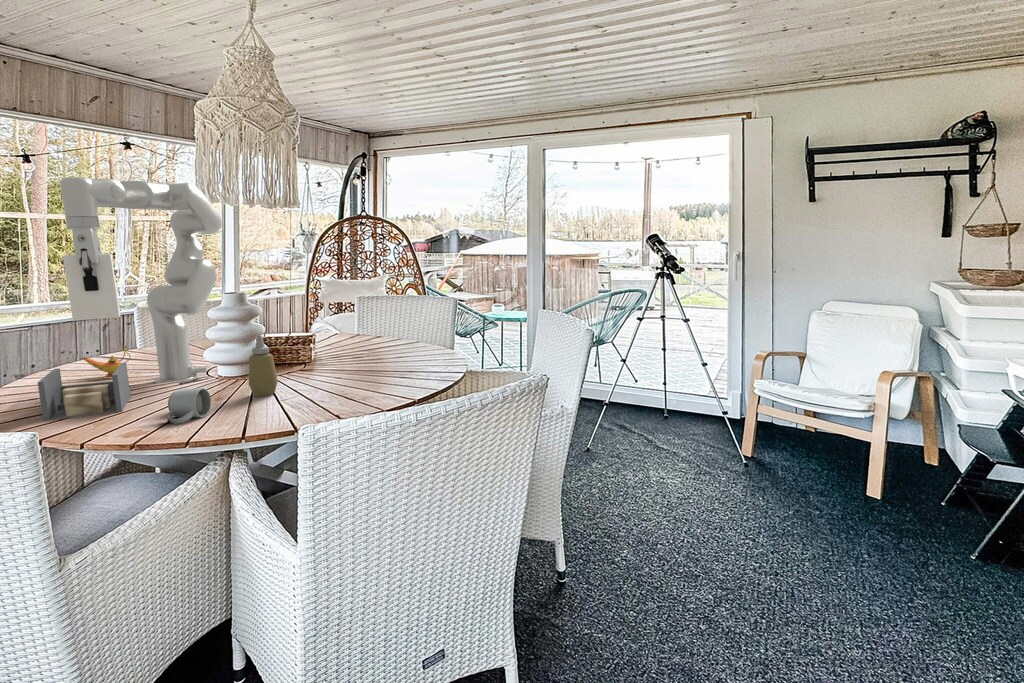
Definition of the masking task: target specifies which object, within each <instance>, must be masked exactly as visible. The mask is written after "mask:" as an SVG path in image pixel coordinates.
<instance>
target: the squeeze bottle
mask: <svg viewBox="0 0 1024 683" xmlns="http://www.w3.org/2000/svg"><path fill="white" fill-rule="evenodd" d="M269 352H270V348H269V346H267V345H265V342H264V338H263V337H262V335H261V334H257V335H256V341H255V346H254V347H251V353H252V354H251V355H249V357H248V386H249V388H250V390H251V392H252V395H253V396H255V397H262V398H263V397H269V396H273V395H275V393H276V388H277V386H278V380H279V379H278V376H277V370H276V366H275V361H274V356H273V354H272V353H269Z"/></svg>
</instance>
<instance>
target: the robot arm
mask: <svg viewBox="0 0 1024 683" xmlns="http://www.w3.org/2000/svg"><path fill="white" fill-rule="evenodd" d="M59 186H60V191H61V199H62V205H63V211H64V217H65V224H66V230H71V231H72V232H71V233H72V239H73V248H74V252H75V254H74V255H76V259H77V263H78V264H79V265H80V263H81V265H82V272H83V281H84V288H85V291H98V290H99V287H98V280H97V276H95V268H94V263H96V265H99V264H100V259H99V254H102V249H101V246H100V245H101V243H100V239H99V235H98V232H97V230H100V229H101V227H100V219H99V215H98V213H99V212H98V208H118V209H119V208H120V209H128V210H129V209H131V210H157V211H174V212H172V214H171V215H170V219H169V220H170V226H171V229H172V232H173V234H174V238H175V241H176V247H175V248H174V251H173V254H172V255H171V258H170V260H169V262H168V264H167V265H166V269H165V271H164V279H165V282H166V283H167V284H168V285H166V284H165V285H158V286H155V287H153V288H152V289H150V290H149V292H148V293H147V295H146V296H147V297H146V303H147V307H148V310H149V313H150V315H151V319H152V324H153V332H154V339H155V348H156V357H157V364H158V373H159V376H157V377H155V378H154V383H155V384H164V383H174V382H179V384H184V383H188V382H193V381H195V380H196V379H198V374H204V373H208V372H207V371H208V370H207V366H197V367H196V366H193V365H194V364H193V363H192V361H191V352H190V342H189V334H188V326H187V324H186V321H185V319H184V318H183V316H184V315H185V316H193V315H197V314H199V313H200V312H202V311H203V309H205V308H204V307H206V304H207V302H208V300H209V297H210V295H211V292H212V291H213V287H214V284H215V282H216V277H217V274H216V273H217V272H216V268H215V265H214V264H213V263H212V262H211V261H210V260H208V259H206V258H203V257H204V248H203V245H202V243H201V242H200V240H199V238H198V235H211V234H215V233H218V232H219V231H220V230H221V228H222V222H223V221H222V218H221V215H220V213H219V212H218V210H217V209H216V208H215V207H214V205H213V204H212V202H210V199H208V198H207V197H206V195H205V194H204V193H203V192H202V190H200V189H199V188H198V187H196V186H195V185H194V184H192V183H190V182H180V183H164V182H153V181H146V180H124V181H118V180H116V179H113V178H108V177H107V178H104V177H103V178H87V177H78V176H77V177H74V176H73V177H71V176H70V177H63V178H61V180H60V181H59ZM80 258H81V262H80V263H79V260H80ZM89 263H92V265H89ZM91 267H92V268H91Z"/></svg>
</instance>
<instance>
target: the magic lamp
mask: <svg viewBox="0 0 1024 683" xmlns="http://www.w3.org/2000/svg"><path fill="white" fill-rule="evenodd" d="M122 348H123V350H124V352H123V356H122V357H121V359H117V358H116V357H115V356H114V355H111V356H110V358H109V359H108V360H107V362H103V361H97V360H94V359H91V358H88V357H80V358H79V359H82V360H83V361H84V362H86V363H88V364H89V365H90V366H92V367H94V368H96V370H97V369H98V370H100V371H102V372H103V373H104V372H105V373H106V374H105V376H104V377H112V374H113V373H114V372H115V371H116V369H117V368H118V367H119V365H120V364H121V363H122V361H123V360H124V359H125V355H126V354H127V355H128V356H129V357H128V359H127V360H125V361H124V362H123V363H126V364H127V362H128V361H130V360H131V358H132V357H131V354H130V353H129V352H128V345H127V344H125V345H123V346H122Z"/></svg>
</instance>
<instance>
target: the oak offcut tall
mask: <svg viewBox="0 0 1024 683" xmlns="http://www.w3.org/2000/svg"><path fill="white" fill-rule="evenodd" d="M100 391H103V398H104V406H105V408H110V407H111V405H112V404H111V397H110V389H109V384H104V385H94V386H84V387H74V388H65V389H64V390H62V394H63V400H64V397H65V396H66V395H71V394H80V393H90V392H100ZM64 407H65V402H64ZM65 413H66V409H65Z"/></svg>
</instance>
